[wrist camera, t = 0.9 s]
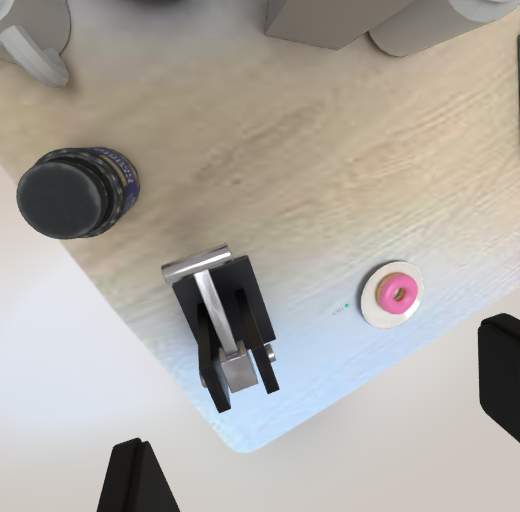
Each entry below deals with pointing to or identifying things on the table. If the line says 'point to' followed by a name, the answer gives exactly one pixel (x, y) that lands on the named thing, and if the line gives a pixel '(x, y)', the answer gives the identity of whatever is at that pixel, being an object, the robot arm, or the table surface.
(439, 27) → the can
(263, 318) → the lever bracket
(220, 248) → the flush lever
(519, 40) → the button block
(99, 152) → the pill bottle
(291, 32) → the perfume bottle
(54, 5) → the cup
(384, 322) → the donut
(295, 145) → the table surface
